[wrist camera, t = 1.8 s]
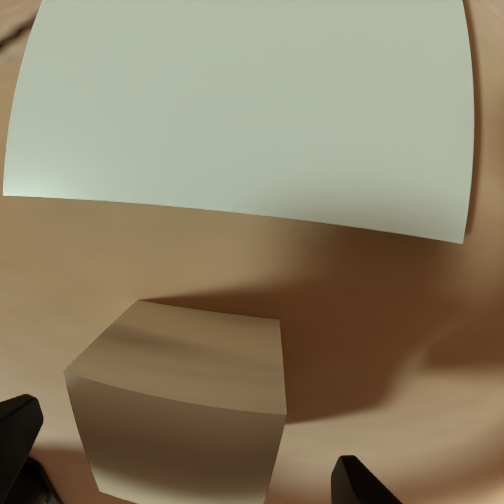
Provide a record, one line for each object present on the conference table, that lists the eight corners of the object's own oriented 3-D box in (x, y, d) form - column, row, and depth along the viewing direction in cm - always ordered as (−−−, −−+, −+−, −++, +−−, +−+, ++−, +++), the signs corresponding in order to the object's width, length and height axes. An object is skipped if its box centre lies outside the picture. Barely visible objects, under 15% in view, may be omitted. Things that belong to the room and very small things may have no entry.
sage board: (444, 238, 10) (462, 243, 9) (22, 193, 10) (2, 195, 9) (439, -32, 7) (450, -45, 6) (83, -50, 8) (72, -62, 6)
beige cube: (261, 425, 12) (257, 524, 7) (143, 406, 12) (99, 491, 7) (279, 318, 11) (286, 414, 6) (138, 299, 11) (63, 371, 6)
